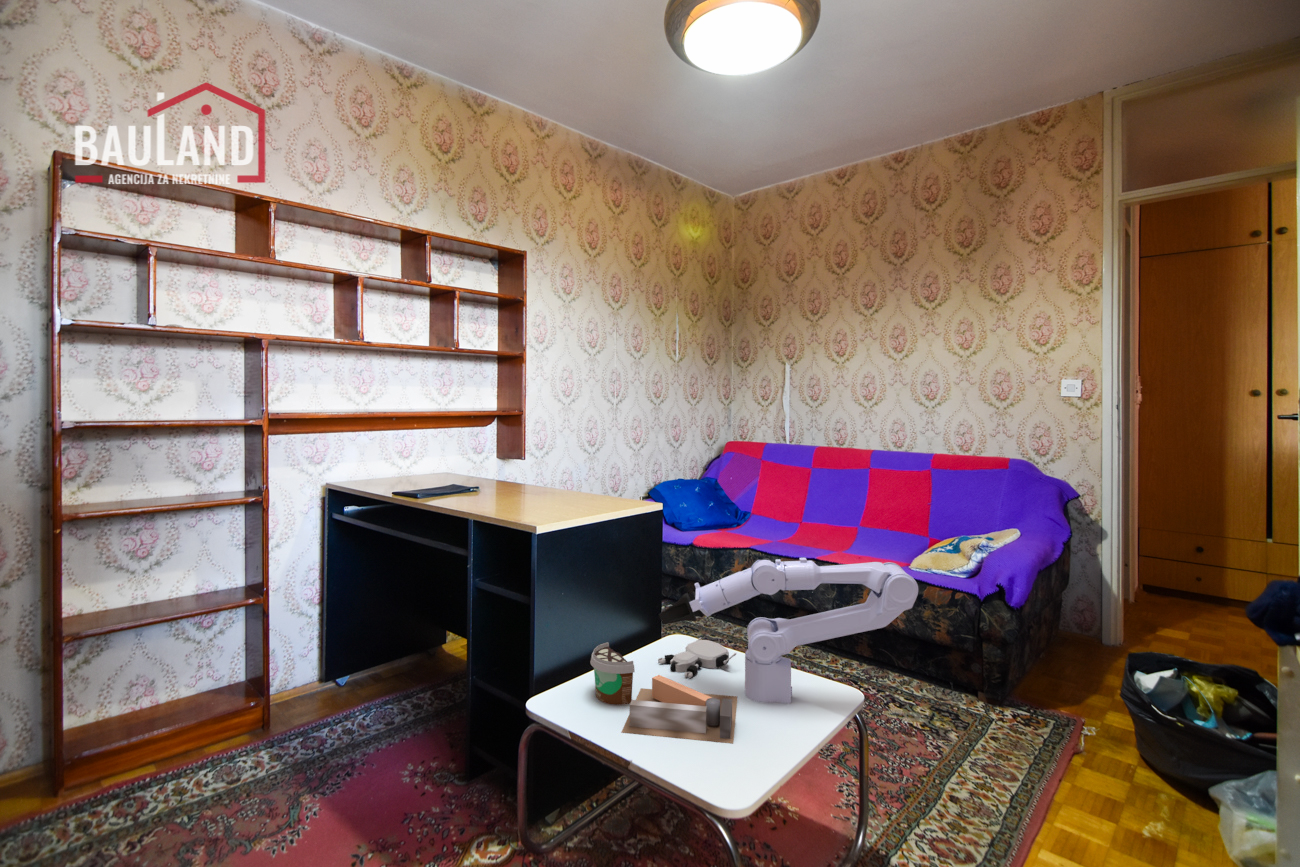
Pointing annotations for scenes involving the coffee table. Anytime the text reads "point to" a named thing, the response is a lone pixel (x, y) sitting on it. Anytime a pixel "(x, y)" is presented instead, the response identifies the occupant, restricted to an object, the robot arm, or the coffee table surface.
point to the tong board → (684, 735)
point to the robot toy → (698, 657)
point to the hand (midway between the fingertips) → (664, 617)
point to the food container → (612, 676)
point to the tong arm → (685, 697)
